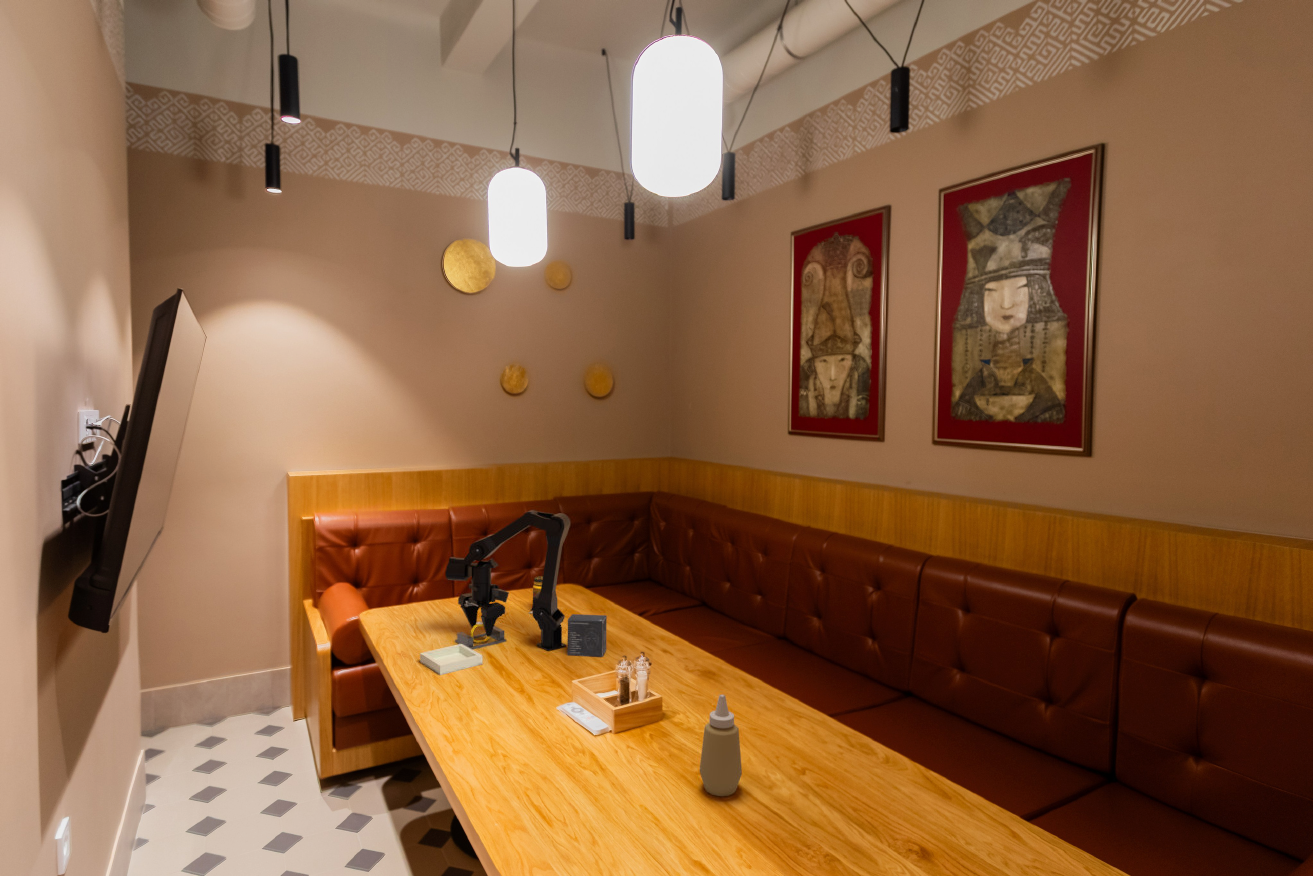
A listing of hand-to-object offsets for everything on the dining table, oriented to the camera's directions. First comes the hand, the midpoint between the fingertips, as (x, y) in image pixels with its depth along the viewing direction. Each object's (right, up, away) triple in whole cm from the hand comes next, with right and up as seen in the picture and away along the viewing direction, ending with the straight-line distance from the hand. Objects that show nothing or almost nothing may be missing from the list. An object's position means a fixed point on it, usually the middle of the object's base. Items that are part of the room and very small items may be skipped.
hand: (481, 632), depth 217 cm
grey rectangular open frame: (0, -3, 0) cm, 3 cm away
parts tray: (-4, -4, -18) cm, 19 cm away
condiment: (+14, -2, +33) cm, 35 cm away
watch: (0, -3, 0) cm, 3 cm away
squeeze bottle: (+65, -8, -81) cm, 104 cm away
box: (+33, -4, -8) cm, 34 cm away
